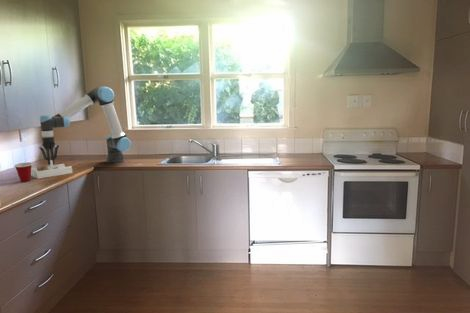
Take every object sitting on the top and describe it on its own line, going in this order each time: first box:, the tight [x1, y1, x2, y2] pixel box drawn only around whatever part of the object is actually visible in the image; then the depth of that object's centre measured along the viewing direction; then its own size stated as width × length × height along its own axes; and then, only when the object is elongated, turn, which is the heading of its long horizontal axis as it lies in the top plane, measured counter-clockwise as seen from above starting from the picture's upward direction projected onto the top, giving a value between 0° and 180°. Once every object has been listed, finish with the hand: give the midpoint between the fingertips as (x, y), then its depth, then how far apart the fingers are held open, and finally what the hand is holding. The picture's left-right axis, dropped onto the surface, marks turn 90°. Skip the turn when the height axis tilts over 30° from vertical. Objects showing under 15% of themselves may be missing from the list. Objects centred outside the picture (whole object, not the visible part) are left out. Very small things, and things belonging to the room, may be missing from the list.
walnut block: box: [36, 165, 48, 171], centre depth 259 cm, size 6×6×4 cm
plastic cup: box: [13, 162, 33, 183], centre depth 244 cm, size 11×11×12 cm
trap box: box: [31, 163, 73, 179], centre depth 266 cm, size 24×16×5 cm, turn 134°
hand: (51, 168), depth 263 cm, fingers closed
